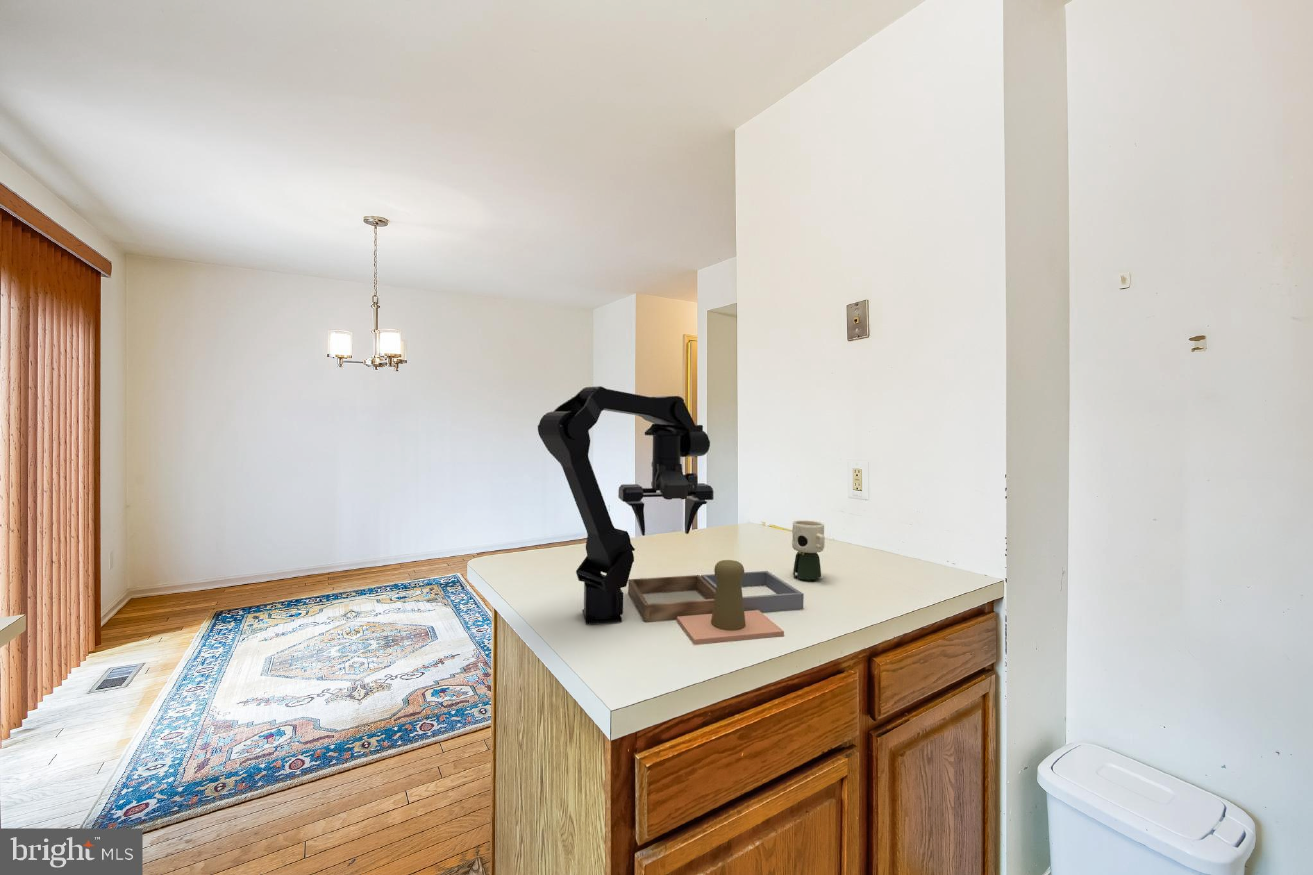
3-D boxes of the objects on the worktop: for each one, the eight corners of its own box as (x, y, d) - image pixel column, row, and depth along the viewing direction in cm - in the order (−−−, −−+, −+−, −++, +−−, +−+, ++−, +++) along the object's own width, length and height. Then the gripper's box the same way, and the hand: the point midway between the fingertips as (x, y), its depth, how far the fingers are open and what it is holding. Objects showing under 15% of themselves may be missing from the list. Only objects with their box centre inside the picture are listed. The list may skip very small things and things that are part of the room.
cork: (744, 632, 87) (746, 567, 86) (708, 628, 88) (710, 564, 88) (746, 618, 93) (747, 558, 92) (712, 615, 94) (714, 555, 94)
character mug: (780, 573, 124) (781, 519, 123) (804, 570, 127) (805, 517, 126) (809, 587, 114) (810, 528, 113) (835, 583, 116) (836, 526, 116)
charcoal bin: (728, 615, 96) (728, 599, 96) (700, 588, 112) (701, 574, 111) (803, 608, 100) (803, 593, 100) (767, 584, 115) (767, 570, 115)
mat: (694, 644, 84) (694, 639, 84) (676, 620, 93) (676, 616, 93) (784, 635, 87) (784, 631, 87) (758, 614, 97) (758, 609, 97)
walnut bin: (644, 622, 92) (644, 605, 92) (628, 593, 108) (628, 579, 108) (726, 615, 96) (726, 599, 96) (699, 588, 111) (699, 574, 111)
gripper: (628, 461, 95) (627, 545, 95) (724, 461, 99) (722, 541, 100) (618, 457, 105) (617, 532, 106) (704, 456, 110) (703, 529, 110)
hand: (665, 534), depth 105 cm, fingers open, 9 cm apart
